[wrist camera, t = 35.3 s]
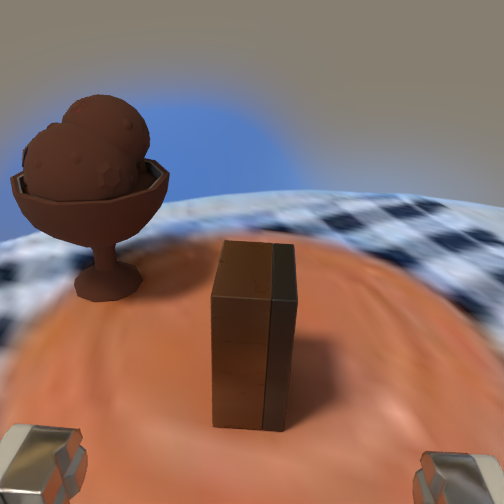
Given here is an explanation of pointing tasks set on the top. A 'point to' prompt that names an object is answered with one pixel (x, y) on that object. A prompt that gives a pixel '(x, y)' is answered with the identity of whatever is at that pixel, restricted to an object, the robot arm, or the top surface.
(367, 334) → the top surface
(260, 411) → the eraser
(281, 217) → the top surface
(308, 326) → the top surface
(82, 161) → the ice cream bowl
